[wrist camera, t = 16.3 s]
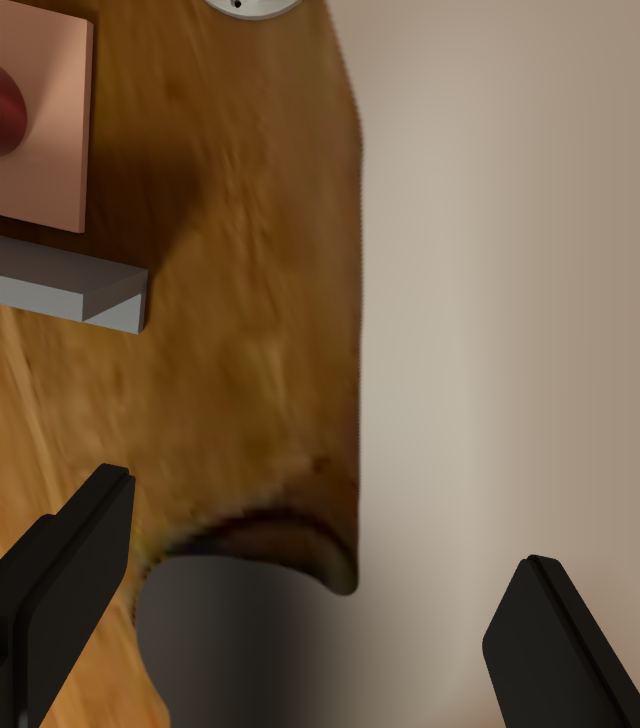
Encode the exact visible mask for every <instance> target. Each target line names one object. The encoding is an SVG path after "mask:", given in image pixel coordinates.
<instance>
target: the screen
mask: <svg viewBox="0 0 640 728" xmlns="http://www.w3.org/2000/svg"><path fill="white" fill-rule="evenodd" d="M147 281H148V269H144V268H140V267H135V266H131V265H127V264H122V263H118V262H114V261H109V260H105V259H100V258H96V257H92V256H87V255H83V254H79V253H74V252H70V251H66V250H61V249H57V248H53V247H48V246H44V245H40V244H35V243H31V242H27V241H22V240H18V239H14V238H9V237H5V236H1V235H0V304H3V305H7V306H12V307H16V308H20V309H25V310H29V311H34V312H38V313H43V314H47V315H52V316H56V317H61V318H65V319H69V320H74V321H78V322H85V323H89V324H94V325H98V326H103V327H107V328H112V329H116V330H121V331H125V332H129V333H134V334H139V333H140V332H142V331H143V323H144V313H145V302H146V291H147Z"/></svg>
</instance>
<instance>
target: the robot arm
mask: <svg viewBox="0 0 640 728" xmlns="http://www.w3.org/2000/svg"><path fill="white" fill-rule="evenodd" d="M205 1H206V2H207V3H208V4H209V5H211V6H212V7H214V8H216V9H217V10H219V11H221V12H223V13H224V14H227V15H230V16H233V17H236V18H239V19H247V20H262V19H268V18H273V17H276V16H278V15H281V14H283V13H286V12H288V11H289V10H291V9H292V8H294V7H295V6H297V5H298V4H300V3H301V2H302V1H303V0H205ZM237 2H240V3H241V6H240V7H239V8H236V7H235V5H236V3H237ZM135 481H136V479H135V477H134V476H131V475H129V470H128V468H125V467H120V466H115V465H111V464H106V463H103V464H101V465H100V466H99V467H98V468H97V469H96V470H95V471H94V472H93V474H92V475H91V476H90V477H89V478H88V479H87V480H86V481H85V483H84V484H83V485H82V486H81V487H80V488H79V489H78V490H77V492H76V493H75V494H74V495H73V496H72V497H71V498H70V499H69V501H68V502H67V503H66V504H65V505H64V506H63V507H62V508H61V510H60V511H59V512H58V513H57V514H56V515H51V514H45V515H43V516H41V517H40V518H39V519H38V520H37V521H36V522H35V523H34V524H33V525H32V526H31V527H30V528H29V529H28V530H27V531H26V533H25V534H24V535H23V536H22V537H21V538H20V539H19V540H18V541H17V542H16V543H15V544H14V545H13V546H12V548H11V549H10V550H9V551H8V552H7V553H6V554H5V555H4V556H3V557H2V558H1V559H0V728H39V726H40V725H41V723H42V721H43V719H44V718H45V716H46V714H47V712H48V710H49V709H50V707H51V705H52V703H53V702H54V700H55V698H56V696H57V695H58V693H59V691H60V689H61V687H62V686H63V684H64V682H65V680H66V679H67V677H68V675H69V673H70V672H71V670H72V668H73V666H74V664H75V663H76V661H77V659H78V657H79V656H80V654H81V652H82V650H83V648H84V647H85V645H86V643H87V641H88V640H89V638H90V636H91V634H92V633H93V631H94V629H95V627H96V625H97V624H98V622H99V620H100V618H101V617H102V615H103V613H104V611H105V610H106V608H107V606H108V604H109V602H110V601H111V599H112V597H113V595H114V594H115V592H116V590H117V588H118V587H119V585H120V583H121V581H122V579H123V577H124V574H125V571H126V568H127V561H128V551H129V541H130V531H131V521H132V512H133V502H134V492H135ZM482 649H483V655H484V659H485V662H486V665H487V668H488V671H489V674H490V678H491V681H492V684H493V687H494V690H495V693H496V696H497V700H498V703H499V706H500V709H501V713H502V716H503V719H504V722H505V725H506V728H640V693H639V692H638V690H637V689H636V687H635V685H634V684H633V682H632V680H631V679H630V677H629V675H628V674H627V672H626V670H625V669H624V667H623V665H622V664H621V662H620V661H619V659H618V657H617V656H616V654H615V652H614V651H613V649H612V647H611V646H610V644H609V643H608V641H607V639H606V637H605V636H604V634H603V632H602V631H601V629H600V628H599V626H598V624H597V623H596V621H595V620H594V618H593V616H592V614H591V613H590V611H589V609H588V608H587V606H586V604H585V603H584V601H583V600H582V598H581V596H580V595H579V593H578V591H577V590H576V588H575V586H574V585H573V583H572V581H571V580H570V578H569V576H568V575H567V573H566V571H565V570H564V568H563V567H562V565H561V563H560V562H559V561H558V560H556V559H552V558H548V557H543V556H539V555H530V556H528V558H527V559H523V560H521V561H520V563H519V565H518V567H517V569H516V571H515V573H514V575H513V577H512V579H511V581H510V583H509V585H508V587H507V590H506V592H505V594H504V596H503V598H502V600H501V602H500V604H499V606H498V609H497V610H496V612H495V615H494V617H493V619H492V621H491V623H490V625H489V627H488V629H487V631H486V633H485V635H484V638H483V642H482Z"/></svg>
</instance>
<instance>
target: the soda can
mask: <svg viewBox="0 0 640 728" xmlns="http://www.w3.org/2000/svg"><path fill="white" fill-rule="evenodd" d="M27 119H28V118H27V109H26V105H25V101H24V98H23V96H22V94H21V91H20V89H19V87H18V86H17V84H16V83H15V81H14V80H13V78H12V77H11V76H10V75H9V74H8V73H7V72H6V71H5V70H4V69H3V68H1V67H0V157H2V156H5V155H8V154H9V153H11V152H12V151H14V150H15V149H16V148H17V147H18V146H19V145H20V144H21V142H22V140H23V138H24V136H25V132H26V129H27Z"/></svg>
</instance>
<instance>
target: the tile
mask: <svg viewBox="0 0 640 728" xmlns="http://www.w3.org/2000/svg"><path fill="white" fill-rule="evenodd" d="M93 29H94V25H93V24H92V23H91V22H89V21H88V20H85V19H81V18H77V17H73V16H69V15H65V14H61V13H57V12H53V11H49V10H45V9H41V8H37V7H33V6H29V5H25V4H21V3H17V2H13V1H9V0H0V67H1V68H3V69H4V70H5V71H6V72H7V73H8V74H9V75H10V76H11V77H12V78H13V80H14V81H15V83H16V84H17V86H18V87H19V89H20V91H21V94H22V96H23V98H24V101H25V105H26V109H27V118H28V119H27V129H26V132H25V136H24V138H23V140H22V142H21V144H20V145H19V146H18V147H17V148H16V149H15V150H14V151H12V152H11V153H9V154H8V155H5V156H2V157H0V215H2V216H6V217H11V218H15V219H19V220H24V221H28V222H32V223H37V224H41V225H45V226H49V227H54V228H58V229H62V230H67V231H71V232H75V233H84V232H85V210H86V187H87V165H88V142H89V119H90V97H91V74H92V51H93Z"/></svg>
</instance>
